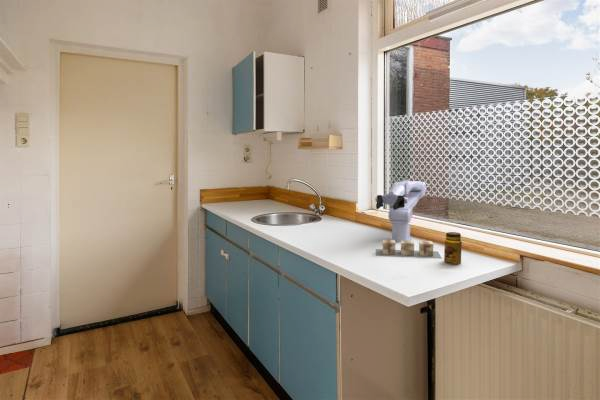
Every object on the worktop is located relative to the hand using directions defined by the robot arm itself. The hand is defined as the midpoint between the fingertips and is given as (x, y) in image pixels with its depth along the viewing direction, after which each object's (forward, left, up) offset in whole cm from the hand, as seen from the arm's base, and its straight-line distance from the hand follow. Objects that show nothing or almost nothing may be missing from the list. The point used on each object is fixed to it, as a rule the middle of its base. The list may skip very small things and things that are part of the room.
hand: (385, 207), depth 166 cm
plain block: (0, +11, -19) cm, 21 cm away
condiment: (+1, +30, -19) cm, 35 cm away
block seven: (-3, +17, -19) cm, 26 cm away
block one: (+4, +4, -19) cm, 19 cm away
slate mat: (0, +11, -19) cm, 22 cm away
